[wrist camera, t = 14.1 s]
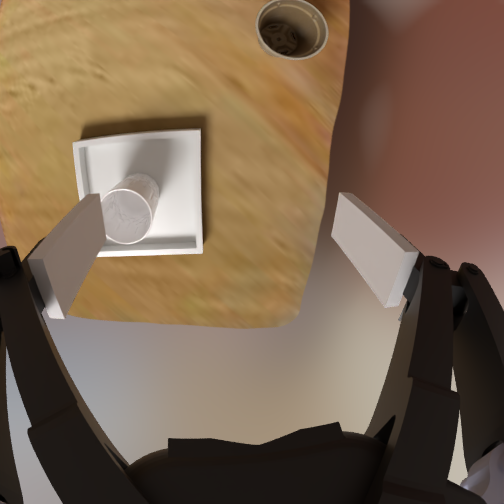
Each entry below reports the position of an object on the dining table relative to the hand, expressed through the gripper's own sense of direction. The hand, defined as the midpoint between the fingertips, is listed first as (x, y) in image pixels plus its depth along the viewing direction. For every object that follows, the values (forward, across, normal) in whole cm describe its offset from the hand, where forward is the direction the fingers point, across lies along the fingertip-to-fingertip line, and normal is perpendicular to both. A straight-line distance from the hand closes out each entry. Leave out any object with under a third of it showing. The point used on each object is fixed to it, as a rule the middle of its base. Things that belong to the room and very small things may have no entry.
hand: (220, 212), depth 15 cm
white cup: (+30, -12, -9) cm, 33 cm away
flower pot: (+31, +9, +16) cm, 36 cm away
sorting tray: (+31, -12, -9) cm, 34 cm away
